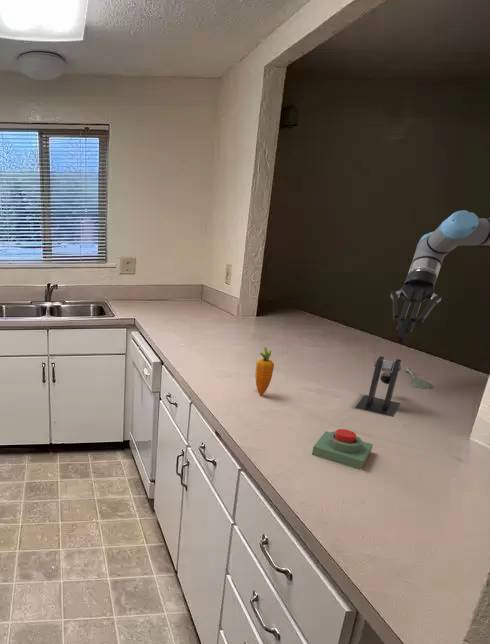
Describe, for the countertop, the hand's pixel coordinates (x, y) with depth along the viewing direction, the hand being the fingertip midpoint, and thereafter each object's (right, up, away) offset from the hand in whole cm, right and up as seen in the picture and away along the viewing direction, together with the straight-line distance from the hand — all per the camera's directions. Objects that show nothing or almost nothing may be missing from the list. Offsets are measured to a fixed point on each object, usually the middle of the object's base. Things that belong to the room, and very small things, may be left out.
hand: (400, 339), depth 128 cm
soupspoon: (+15, -13, +15) cm, 25 cm away
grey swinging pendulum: (-8, -11, -6) cm, 15 cm away
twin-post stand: (-11, -20, -5) cm, 23 cm away
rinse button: (-34, -26, -29) cm, 52 cm away
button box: (-34, -29, -28) cm, 53 cm away
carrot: (-39, -17, +6) cm, 43 cm away
